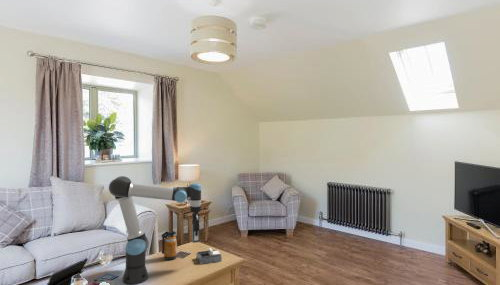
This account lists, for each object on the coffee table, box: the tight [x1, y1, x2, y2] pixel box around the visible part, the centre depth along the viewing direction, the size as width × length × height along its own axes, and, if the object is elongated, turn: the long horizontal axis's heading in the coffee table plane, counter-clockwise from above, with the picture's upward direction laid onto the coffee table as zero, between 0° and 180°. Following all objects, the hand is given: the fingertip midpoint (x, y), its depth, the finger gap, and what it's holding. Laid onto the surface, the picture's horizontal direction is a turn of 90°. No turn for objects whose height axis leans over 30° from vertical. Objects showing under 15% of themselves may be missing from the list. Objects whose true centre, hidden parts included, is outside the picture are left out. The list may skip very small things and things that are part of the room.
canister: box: [161, 230, 178, 261], centre depth 229 cm, size 9×11×20 cm
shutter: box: [208, 247, 221, 256], centre depth 228 cm, size 7×7×3 cm
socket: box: [195, 249, 222, 265], centre depth 227 cm, size 16×12×5 cm
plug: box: [191, 224, 200, 244], centre depth 215 cm, size 4×4×14 cm
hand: (195, 239), depth 215 cm, fingers closed on plug, 4 cm apart
